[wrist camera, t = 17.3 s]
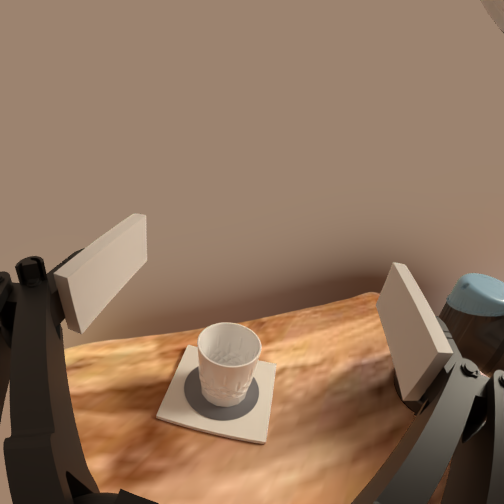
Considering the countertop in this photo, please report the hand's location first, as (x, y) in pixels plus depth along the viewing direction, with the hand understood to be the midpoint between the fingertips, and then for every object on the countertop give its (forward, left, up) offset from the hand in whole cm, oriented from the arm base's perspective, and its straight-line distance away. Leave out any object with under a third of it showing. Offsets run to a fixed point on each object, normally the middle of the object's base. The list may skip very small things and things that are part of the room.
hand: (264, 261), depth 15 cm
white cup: (+3, -13, -29) cm, 32 cm away
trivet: (+3, -13, -30) cm, 33 cm away
